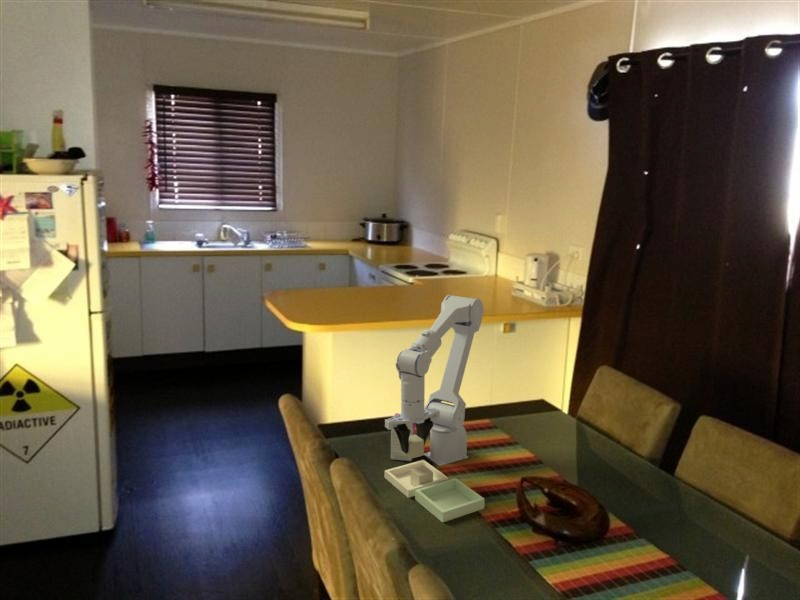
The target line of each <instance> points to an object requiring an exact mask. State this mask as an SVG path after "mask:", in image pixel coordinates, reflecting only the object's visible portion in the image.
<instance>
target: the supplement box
mask: <svg viewBox="0 0 800 600" xmlns="http://www.w3.org/2000/svg"><path fill="white" fill-rule="evenodd" d="M398 414H399V413H398V412H397V413H395V414H394V416H396V415H398ZM406 426H407V428H408V429H409V430H411V432H410V435H409V436H411V435H415V434H416V423H410V424H406ZM390 432H391V433H390V460H392V461H406V462H412V460H413V458H412V459H409V458H408V457H407V456H405V455H404V454H403V453H402V450H401V445H400V442H399V439H398V436H397V434H396V432H395V430H394V428H392V429H390Z"/></svg>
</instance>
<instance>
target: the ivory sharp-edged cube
mask: <svg viewBox="0 0 800 600" xmlns="http://www.w3.org/2000/svg"><path fill="white" fill-rule="evenodd" d="M432 481H433V472H432V471H431V470H430V469H428V468H427V467H426V466H421V467H417V468H414V469H411V485H412V486H413V487H415V486H419V485H422V484H425V483H429V482H432Z"/></svg>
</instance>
